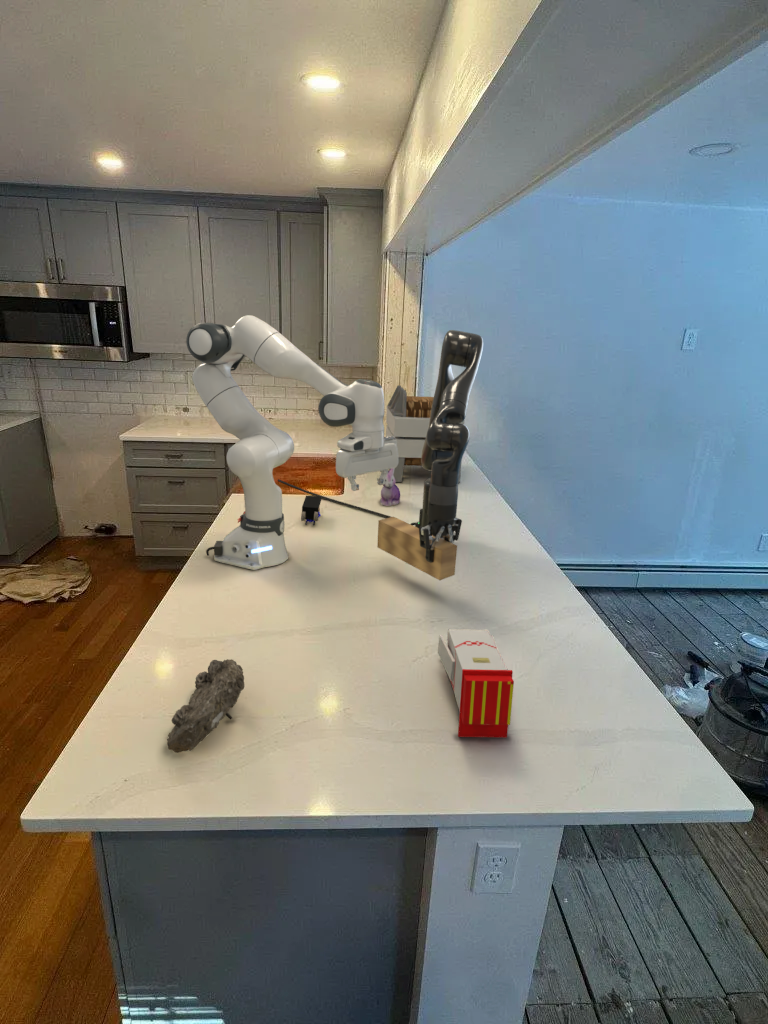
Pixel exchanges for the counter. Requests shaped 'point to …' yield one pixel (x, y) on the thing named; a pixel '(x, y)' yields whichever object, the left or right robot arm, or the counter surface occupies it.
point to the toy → (478, 682)
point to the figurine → (390, 490)
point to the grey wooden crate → (408, 427)
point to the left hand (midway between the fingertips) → (368, 487)
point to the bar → (416, 548)
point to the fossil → (206, 705)
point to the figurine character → (311, 509)
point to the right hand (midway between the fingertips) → (438, 558)
